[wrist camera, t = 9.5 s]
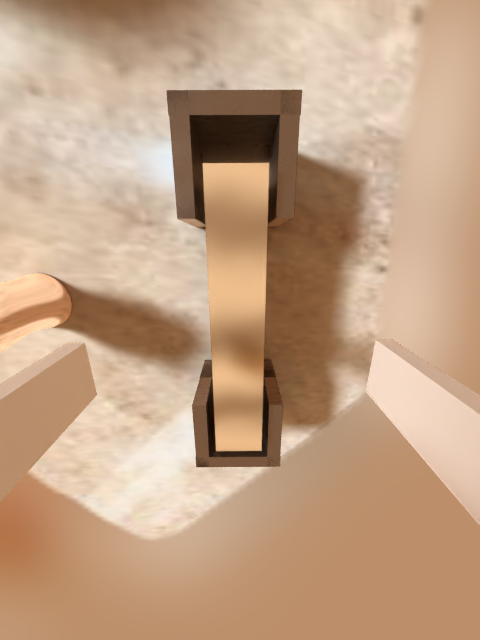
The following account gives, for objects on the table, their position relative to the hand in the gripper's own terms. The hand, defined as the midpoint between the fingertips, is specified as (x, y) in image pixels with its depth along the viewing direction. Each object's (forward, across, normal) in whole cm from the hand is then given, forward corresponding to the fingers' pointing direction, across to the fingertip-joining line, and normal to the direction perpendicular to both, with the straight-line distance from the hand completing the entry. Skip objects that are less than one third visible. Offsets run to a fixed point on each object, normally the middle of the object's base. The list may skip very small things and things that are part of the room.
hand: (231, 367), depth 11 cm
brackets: (+16, 0, -1) cm, 16 cm away
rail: (+12, 0, -1) cm, 12 cm away
